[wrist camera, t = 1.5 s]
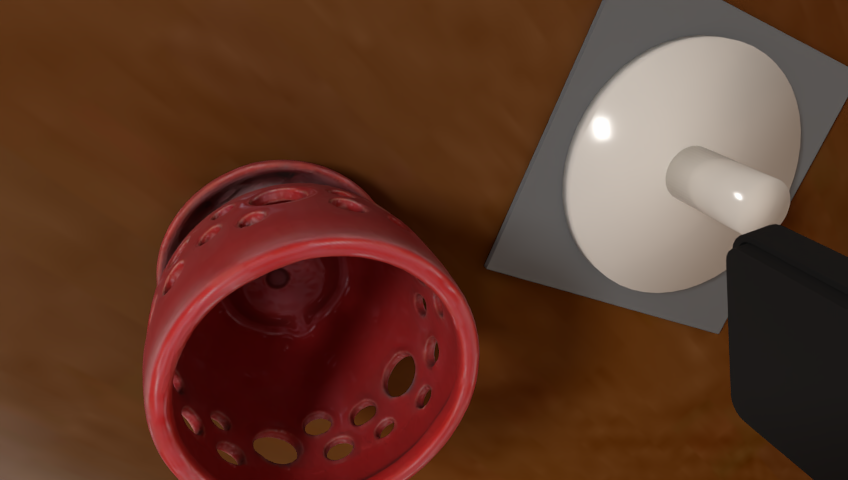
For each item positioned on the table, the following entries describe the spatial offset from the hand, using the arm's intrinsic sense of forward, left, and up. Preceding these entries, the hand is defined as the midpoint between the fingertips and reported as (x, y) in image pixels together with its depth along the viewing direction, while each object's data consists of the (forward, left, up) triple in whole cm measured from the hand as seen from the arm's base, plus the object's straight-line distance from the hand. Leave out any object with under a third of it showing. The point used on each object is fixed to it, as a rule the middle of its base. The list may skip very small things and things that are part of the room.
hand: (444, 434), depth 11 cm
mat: (-3, +25, -29) cm, 38 cm away
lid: (-3, +25, -28) cm, 38 cm away
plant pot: (+9, +5, -29) cm, 31 cm away
